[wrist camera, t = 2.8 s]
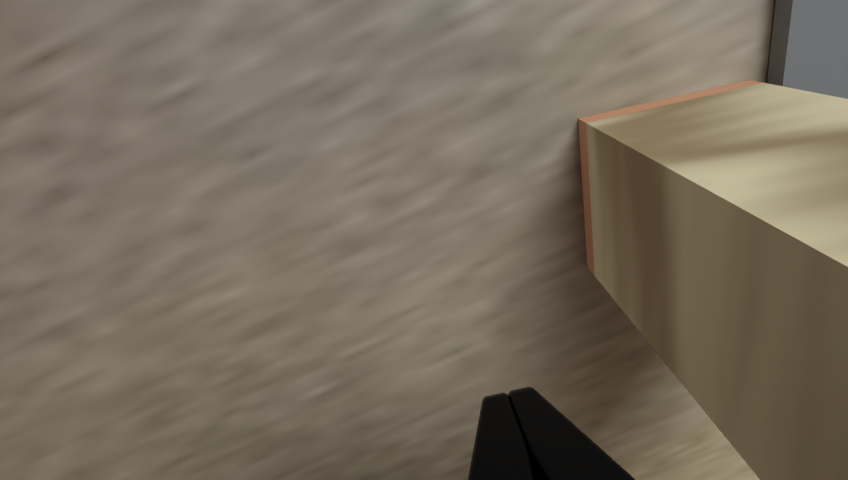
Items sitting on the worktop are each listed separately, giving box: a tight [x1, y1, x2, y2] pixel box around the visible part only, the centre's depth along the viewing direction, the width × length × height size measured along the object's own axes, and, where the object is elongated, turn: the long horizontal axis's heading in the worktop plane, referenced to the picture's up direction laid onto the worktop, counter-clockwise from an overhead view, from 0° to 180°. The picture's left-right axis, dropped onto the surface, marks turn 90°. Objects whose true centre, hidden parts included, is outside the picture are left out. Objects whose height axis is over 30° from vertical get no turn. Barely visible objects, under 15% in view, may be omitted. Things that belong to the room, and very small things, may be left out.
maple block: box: [578, 80, 848, 480], centre depth 11 cm, size 5×5×10 cm
